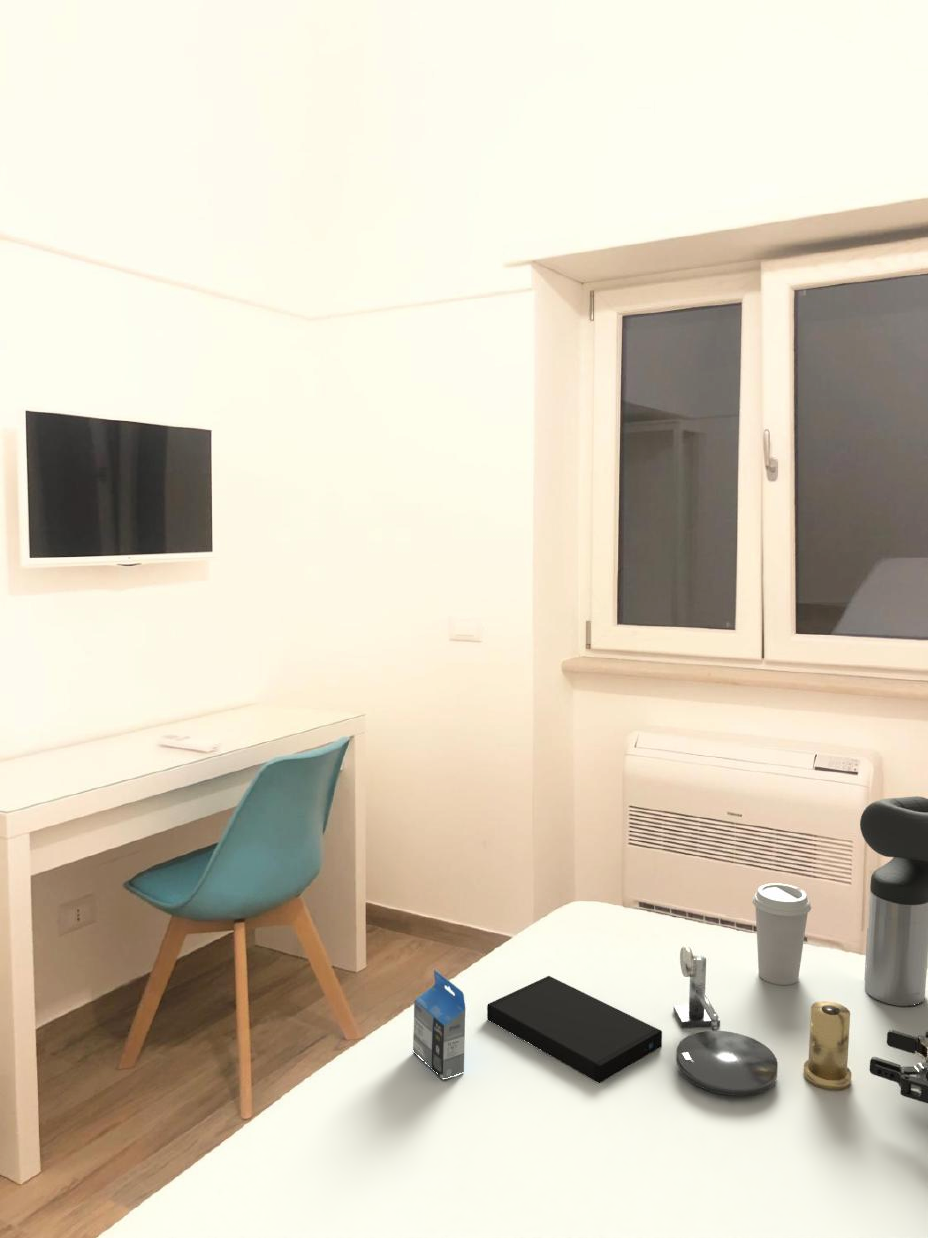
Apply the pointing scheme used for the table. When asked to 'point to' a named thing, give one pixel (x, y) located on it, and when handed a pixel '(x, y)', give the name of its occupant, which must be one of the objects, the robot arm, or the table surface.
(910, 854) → the robot arm
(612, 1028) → the external hard drive
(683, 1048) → the turntable platter
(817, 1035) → the brass cover
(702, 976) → the dial gauge stand
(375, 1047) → the table surface
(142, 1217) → the table surface
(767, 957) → the coffee cup
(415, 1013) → the label tape box
